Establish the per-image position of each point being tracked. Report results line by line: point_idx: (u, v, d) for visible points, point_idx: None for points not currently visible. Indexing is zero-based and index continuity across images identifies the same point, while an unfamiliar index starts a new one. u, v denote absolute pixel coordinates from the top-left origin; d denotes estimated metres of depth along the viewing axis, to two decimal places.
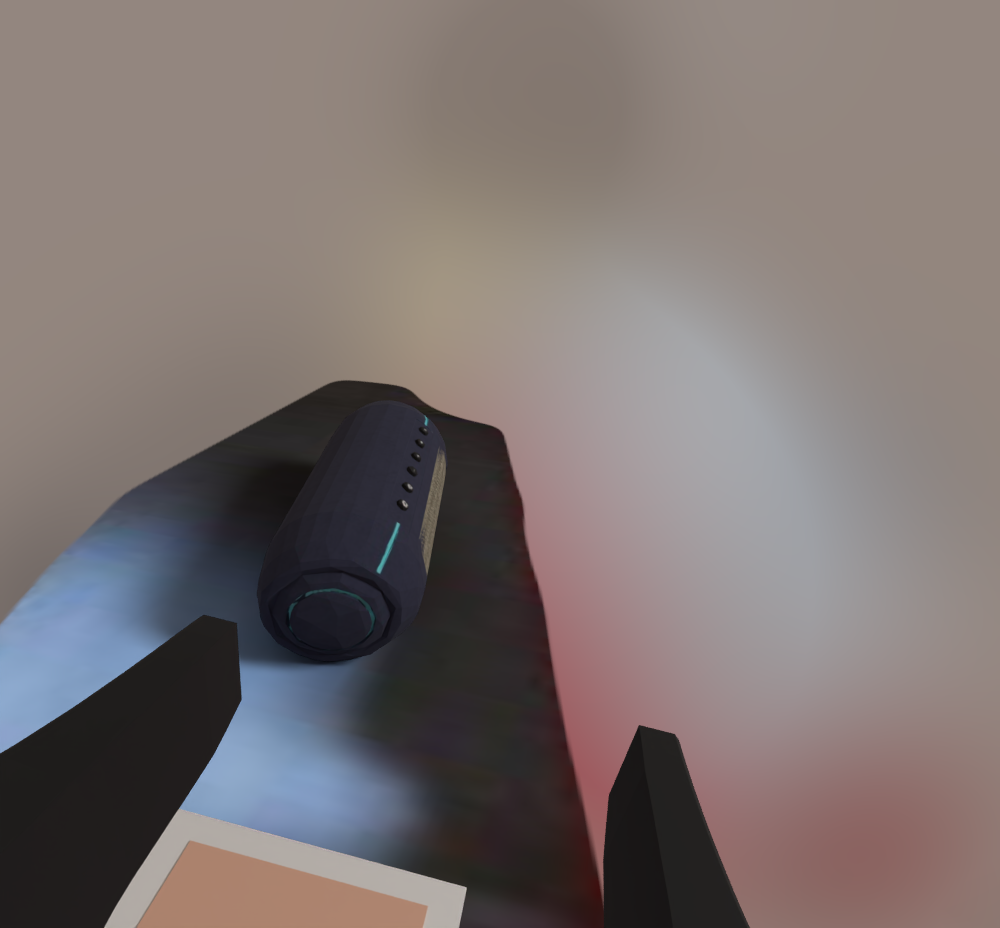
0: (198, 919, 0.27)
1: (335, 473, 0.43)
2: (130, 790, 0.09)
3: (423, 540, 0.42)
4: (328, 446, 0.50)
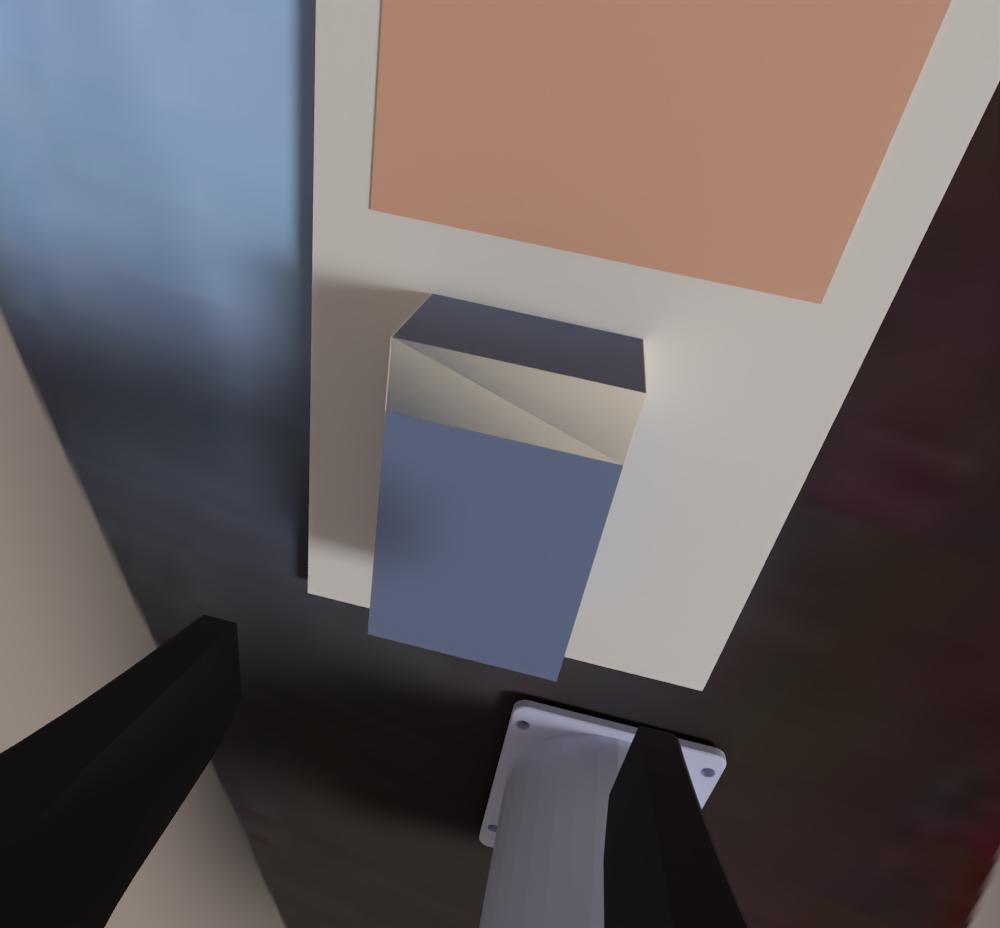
0: None
1: None
2: (130, 790, 0.09)
3: None
4: None
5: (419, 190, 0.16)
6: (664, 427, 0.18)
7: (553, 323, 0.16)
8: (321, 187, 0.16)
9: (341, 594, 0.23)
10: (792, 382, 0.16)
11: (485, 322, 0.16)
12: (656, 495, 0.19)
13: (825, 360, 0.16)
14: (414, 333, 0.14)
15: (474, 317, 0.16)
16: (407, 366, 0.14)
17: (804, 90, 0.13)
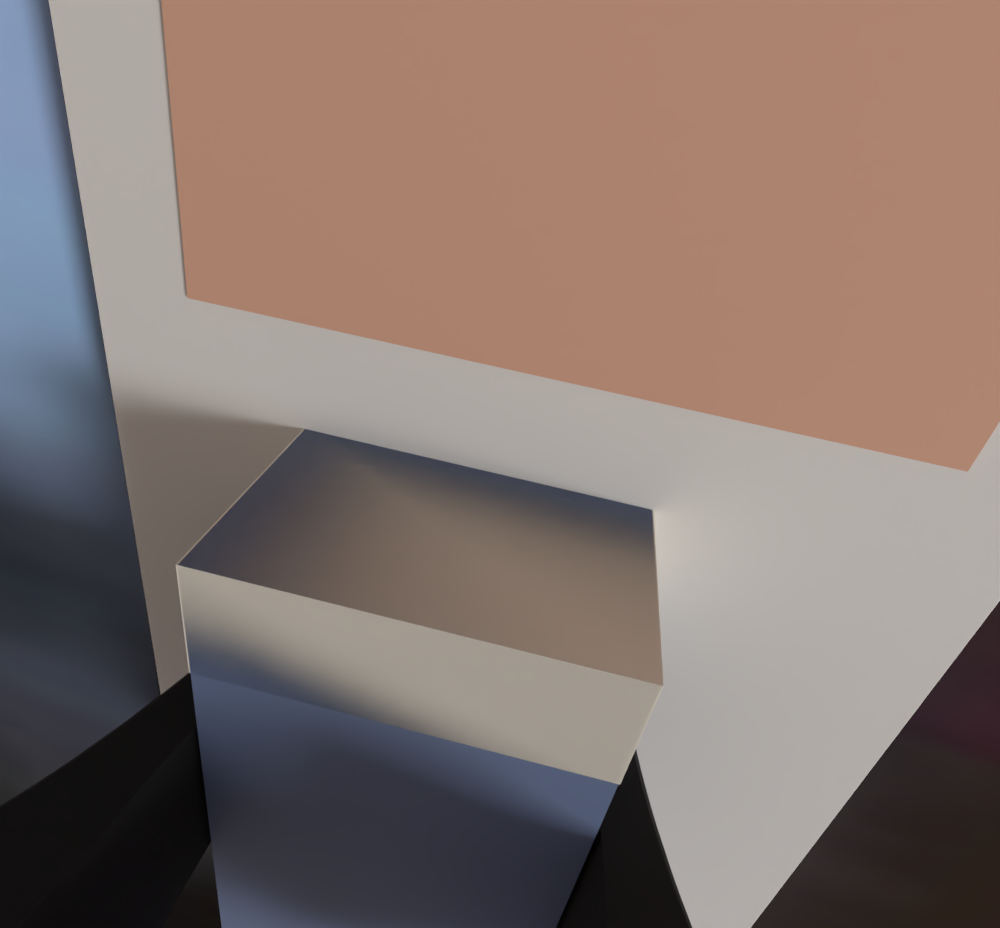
0: None
1: None
2: (181, 804, 0.09)
3: None
4: None
5: (264, 267, 0.09)
6: (686, 634, 0.11)
7: (502, 485, 0.10)
8: (104, 259, 0.09)
9: None
10: (903, 583, 0.10)
11: (381, 494, 0.09)
12: (671, 721, 0.12)
13: (964, 555, 0.09)
14: (229, 547, 0.08)
15: (362, 483, 0.09)
16: (214, 611, 0.08)
17: (975, 95, 0.07)
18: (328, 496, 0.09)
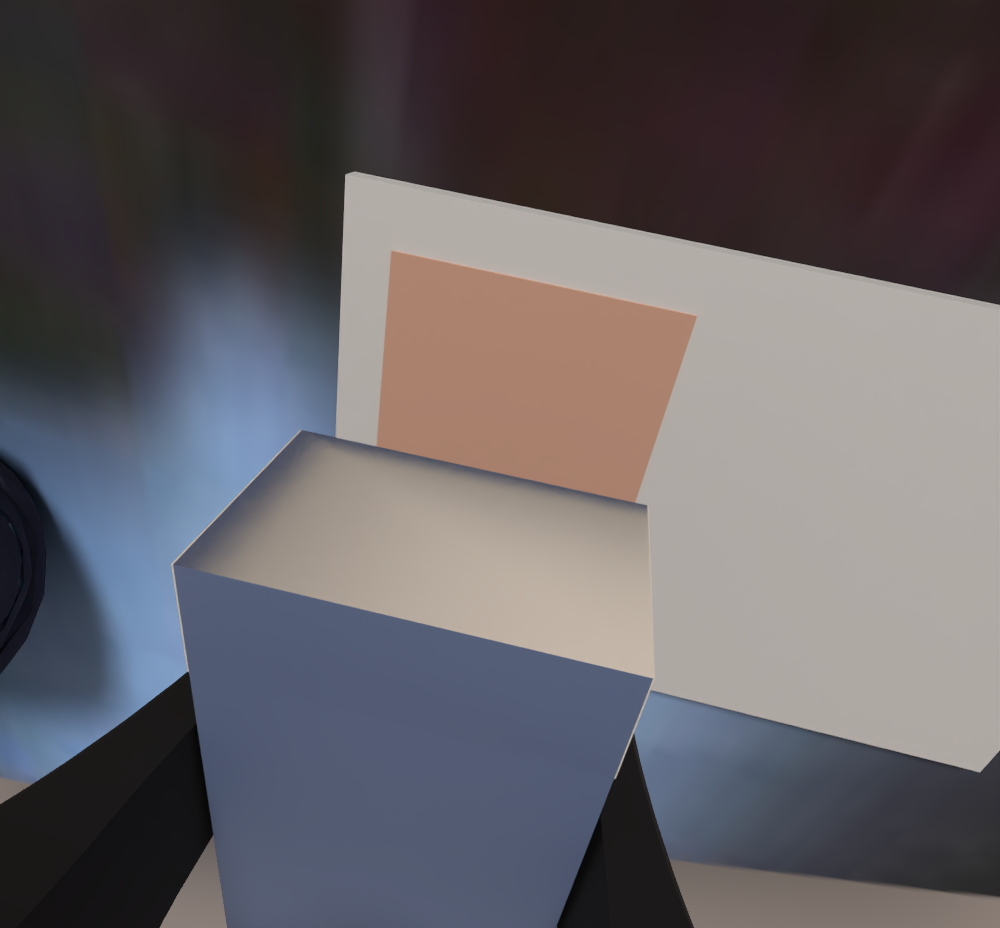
0: None
1: None
2: (180, 804, 0.09)
3: None
4: None
5: None
6: (821, 444, 0.17)
7: (497, 482, 0.10)
8: None
9: (991, 746, 0.21)
10: (784, 327, 0.15)
11: (375, 493, 0.09)
12: (914, 450, 0.16)
13: (762, 299, 0.15)
14: (225, 547, 0.08)
15: (357, 482, 0.09)
16: (210, 610, 0.08)
17: (514, 356, 0.17)
18: (323, 496, 0.09)
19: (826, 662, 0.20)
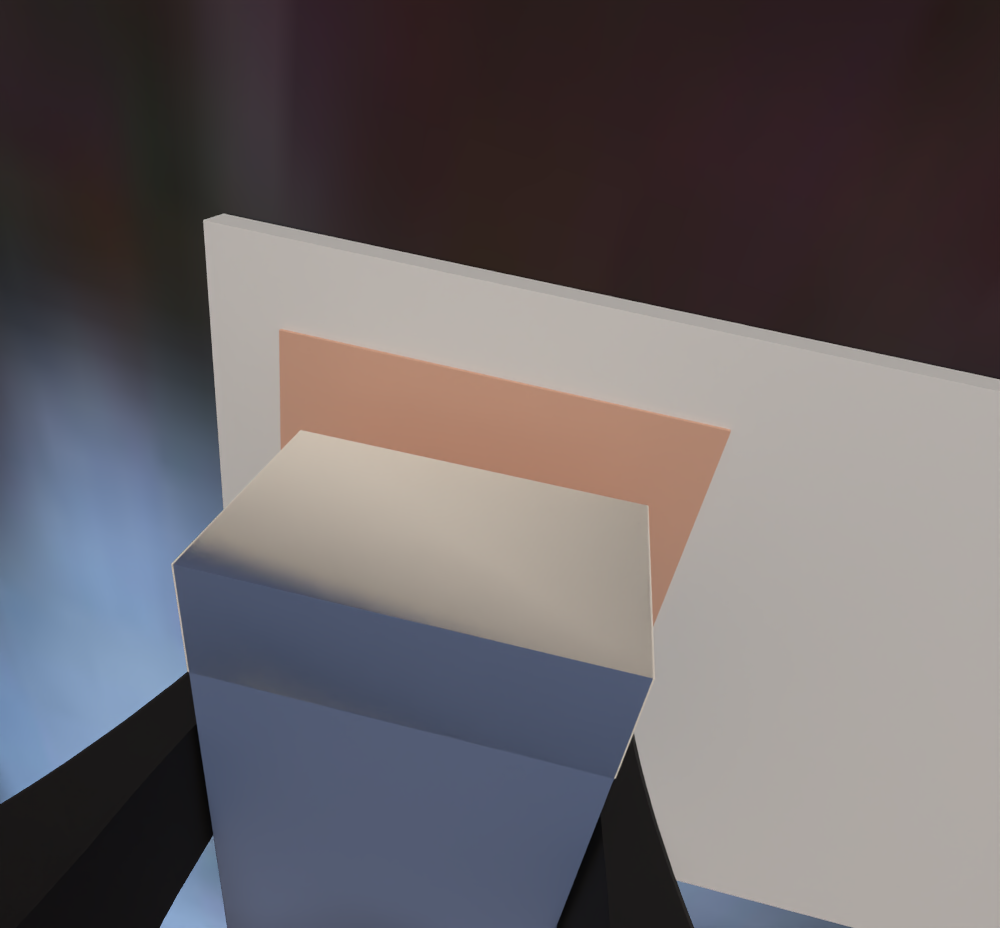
0: None
1: None
2: (180, 804, 0.09)
3: None
4: None
5: None
6: (908, 605, 0.11)
7: (497, 482, 0.10)
8: None
9: None
10: (862, 450, 0.10)
11: (375, 493, 0.09)
12: None
13: (830, 410, 0.10)
14: (225, 547, 0.08)
15: (357, 482, 0.09)
16: (210, 610, 0.08)
17: None
18: (323, 496, 0.09)
19: (894, 861, 0.15)
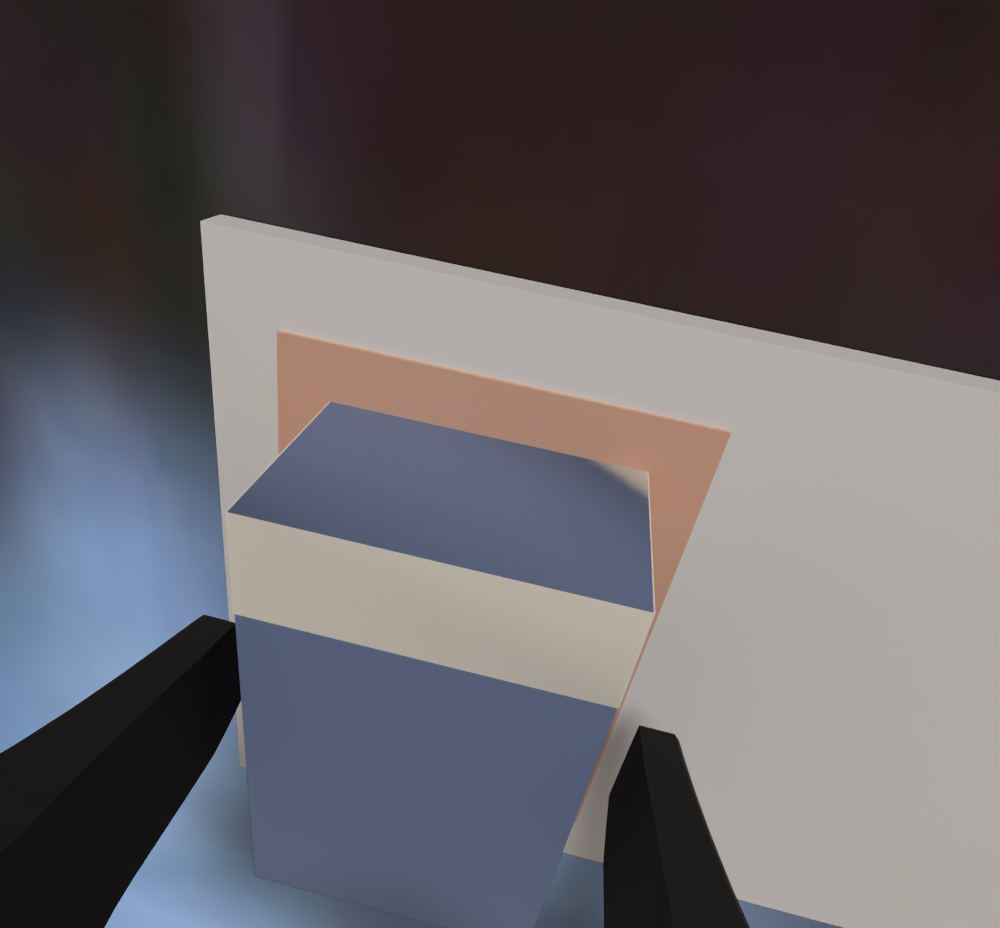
0: None
1: None
2: (130, 790, 0.09)
3: None
4: None
5: None
6: (909, 608, 0.11)
7: (510, 450, 0.11)
8: None
9: None
10: (863, 452, 0.10)
11: (401, 456, 0.10)
12: None
13: (830, 412, 0.10)
14: (271, 498, 0.09)
15: (385, 448, 0.10)
16: (258, 555, 0.09)
17: None
18: (355, 458, 0.10)
19: (895, 863, 0.15)
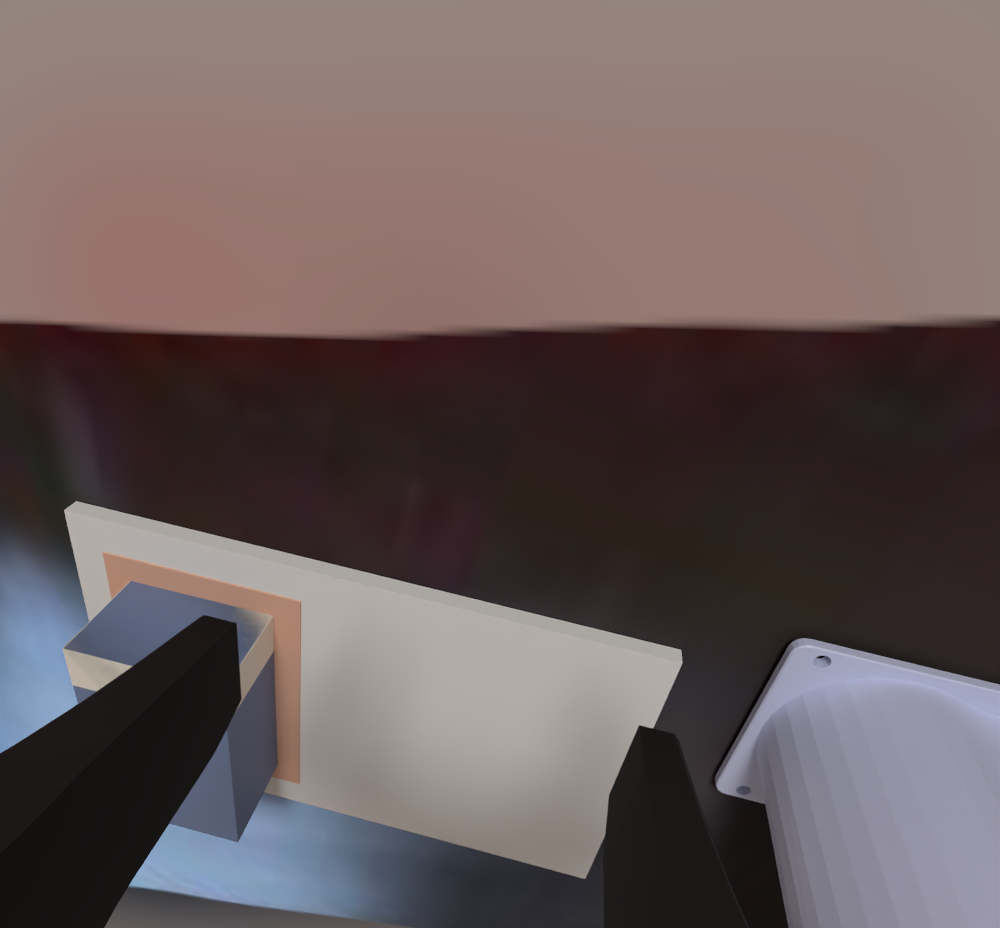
0: None
1: None
2: (130, 790, 0.09)
3: None
4: None
5: (285, 763, 0.28)
6: (403, 676, 0.24)
7: (209, 606, 0.24)
8: (294, 797, 0.30)
9: (584, 862, 0.28)
10: (355, 611, 0.23)
11: (152, 614, 0.23)
12: (460, 683, 0.24)
13: (336, 595, 0.23)
14: (83, 640, 0.22)
15: (146, 608, 0.23)
16: (78, 663, 0.22)
17: None
18: (129, 616, 0.23)
19: (458, 804, 0.28)
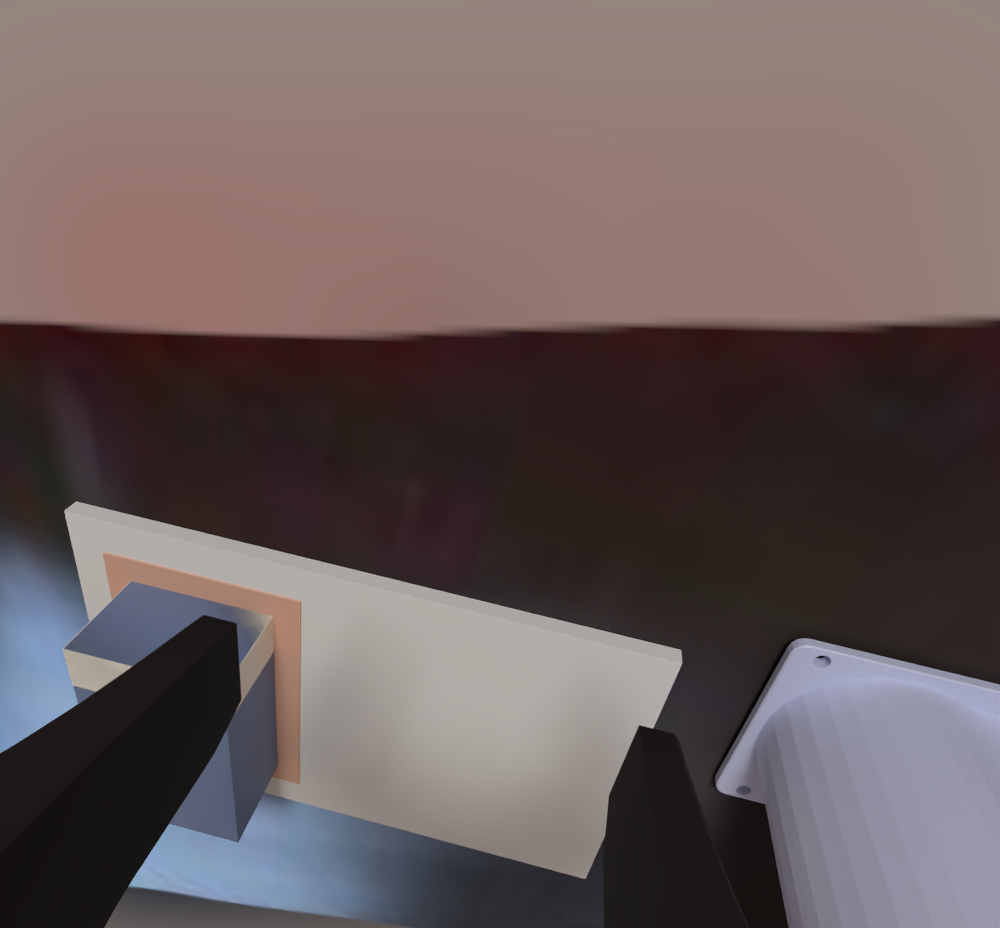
0: None
1: None
2: (130, 790, 0.09)
3: None
4: None
5: (285, 763, 0.28)
6: (403, 676, 0.24)
7: (209, 606, 0.24)
8: (294, 797, 0.30)
9: (584, 862, 0.28)
10: (355, 611, 0.23)
11: (152, 614, 0.23)
12: (460, 683, 0.24)
13: (336, 596, 0.23)
14: (83, 641, 0.22)
15: (146, 609, 0.23)
16: (78, 664, 0.22)
17: None
18: (129, 616, 0.23)
19: (458, 804, 0.28)
